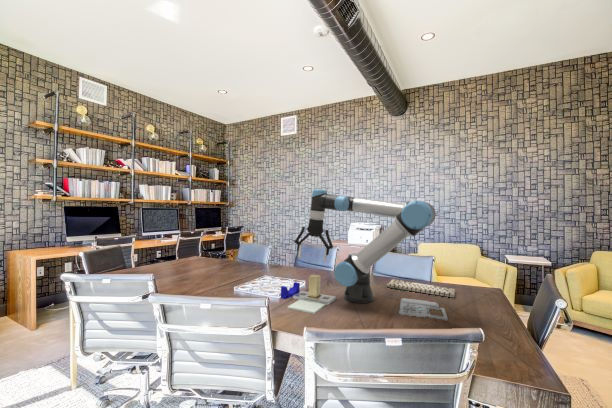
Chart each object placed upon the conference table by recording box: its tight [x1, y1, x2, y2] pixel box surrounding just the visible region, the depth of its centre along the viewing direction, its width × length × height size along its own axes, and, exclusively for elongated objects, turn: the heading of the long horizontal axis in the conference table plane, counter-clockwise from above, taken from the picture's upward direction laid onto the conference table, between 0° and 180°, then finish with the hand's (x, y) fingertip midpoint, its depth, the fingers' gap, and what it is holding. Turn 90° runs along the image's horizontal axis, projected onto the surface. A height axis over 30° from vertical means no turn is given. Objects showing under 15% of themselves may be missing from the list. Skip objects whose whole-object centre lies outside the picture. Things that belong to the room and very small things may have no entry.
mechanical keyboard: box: [385, 278, 456, 299], centre depth 167 cm, size 38×19×3 cm, turn 61°
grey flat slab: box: [398, 298, 448, 321], centre depth 135 cm, size 23×3×20 cm
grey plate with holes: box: [292, 290, 337, 306], centre depth 147 cm, size 20×10×2 cm, turn 63°
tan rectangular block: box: [308, 274, 321, 298], centre depth 148 cm, size 4×4×12 cm
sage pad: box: [286, 299, 326, 315], centre depth 135 cm, size 14×12×1 cm
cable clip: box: [280, 281, 301, 300], centre depth 153 cm, size 12×4×6 cm, turn 143°
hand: (311, 259), depth 148 cm, fingers open, 13 cm apart
